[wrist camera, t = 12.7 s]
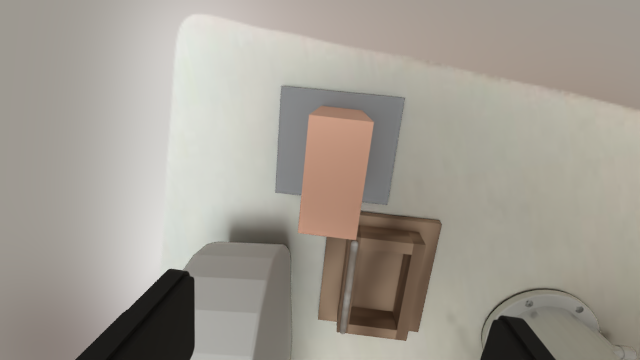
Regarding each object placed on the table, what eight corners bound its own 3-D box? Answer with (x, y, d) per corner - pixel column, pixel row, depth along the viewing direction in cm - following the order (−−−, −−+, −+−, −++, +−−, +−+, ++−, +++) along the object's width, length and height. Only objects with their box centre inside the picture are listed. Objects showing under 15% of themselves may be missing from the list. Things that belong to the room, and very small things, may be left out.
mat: (402, 97, 31) (404, 97, 30) (386, 201, 34) (387, 204, 33) (283, 86, 31) (281, 85, 30) (277, 189, 34) (275, 192, 34)
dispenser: (438, 220, 34) (453, 240, 30) (416, 325, 38) (426, 357, 34) (329, 208, 35) (327, 225, 30) (318, 313, 39) (315, 343, 34)
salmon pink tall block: (362, 110, 31) (373, 122, 19) (351, 187, 33) (356, 240, 21) (321, 105, 31) (309, 114, 19) (313, 183, 33) (297, 232, 21)
